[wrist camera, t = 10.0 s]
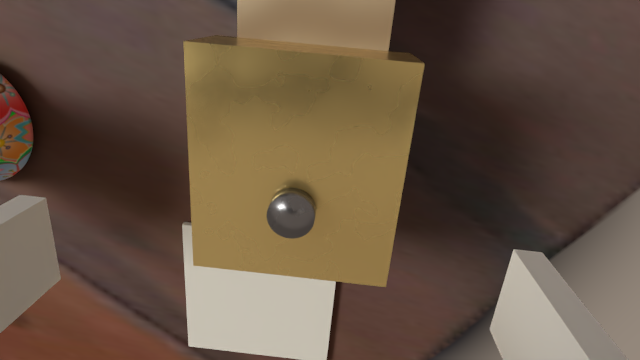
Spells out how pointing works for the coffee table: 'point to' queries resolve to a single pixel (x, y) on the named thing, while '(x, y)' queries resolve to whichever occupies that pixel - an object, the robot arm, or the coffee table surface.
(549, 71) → the coffee table surface
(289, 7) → the body
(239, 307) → the felt pad
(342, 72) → the yellow block with knob
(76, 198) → the coffee table surface
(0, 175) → the mug
